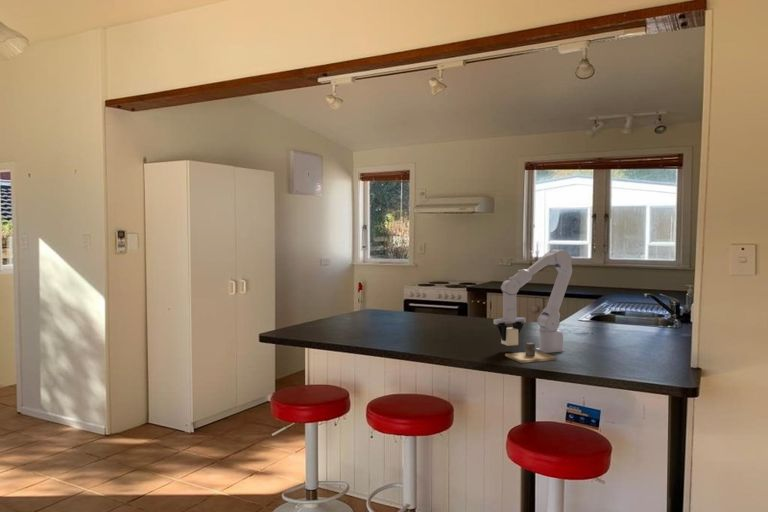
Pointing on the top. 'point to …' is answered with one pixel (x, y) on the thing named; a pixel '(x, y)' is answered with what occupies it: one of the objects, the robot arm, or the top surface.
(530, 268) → the robot arm
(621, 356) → the top surface
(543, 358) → the post board
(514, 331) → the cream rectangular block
